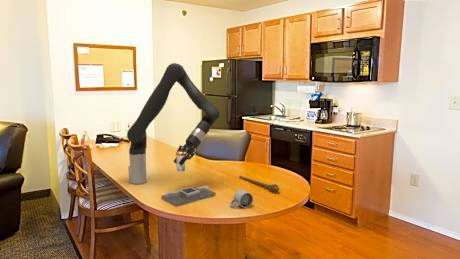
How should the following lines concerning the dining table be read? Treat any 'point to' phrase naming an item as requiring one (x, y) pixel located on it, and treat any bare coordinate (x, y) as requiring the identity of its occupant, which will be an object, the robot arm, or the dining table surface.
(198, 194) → the coupling base
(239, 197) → the ceramic mug
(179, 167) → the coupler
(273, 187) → the torque wrench
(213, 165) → the dining table surface
